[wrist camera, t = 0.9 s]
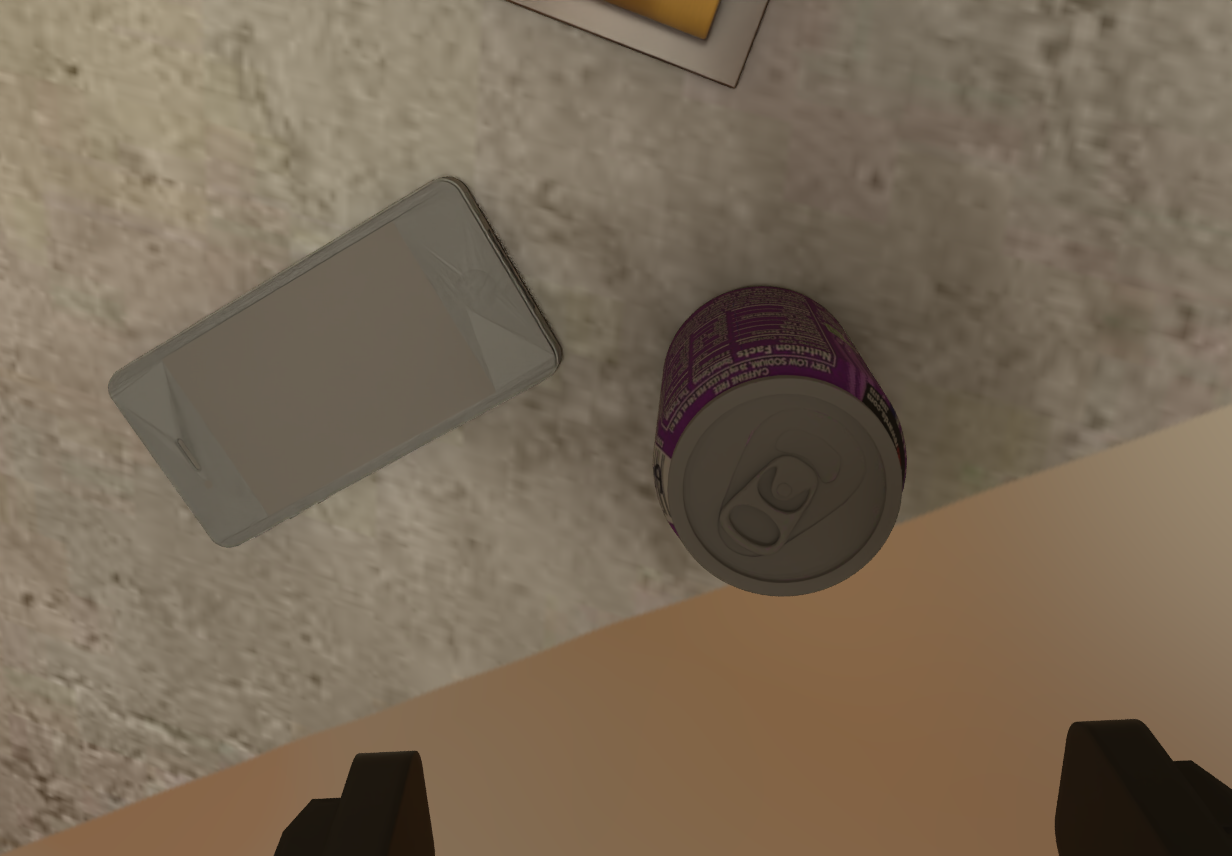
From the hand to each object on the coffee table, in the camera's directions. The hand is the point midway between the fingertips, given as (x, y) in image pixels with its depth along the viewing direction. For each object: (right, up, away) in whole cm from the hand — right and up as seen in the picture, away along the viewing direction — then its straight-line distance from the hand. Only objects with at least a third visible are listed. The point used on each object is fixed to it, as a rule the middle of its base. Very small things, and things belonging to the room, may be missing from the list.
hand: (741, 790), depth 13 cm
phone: (-12, +7, +27) cm, 31 cm away
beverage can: (+4, +6, +26) cm, 27 cm away
